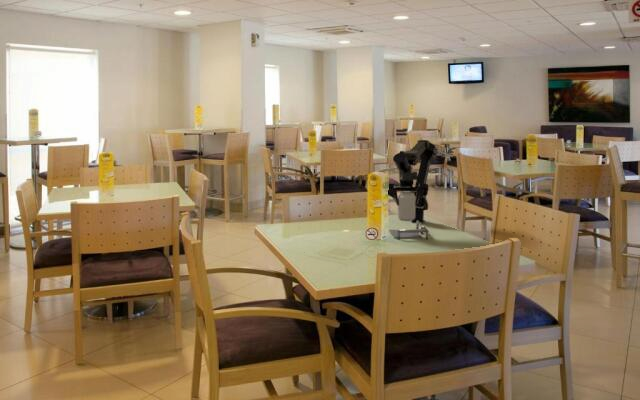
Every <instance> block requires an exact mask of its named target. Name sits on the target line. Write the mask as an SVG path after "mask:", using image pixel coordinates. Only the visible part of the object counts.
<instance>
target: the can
mask: <svg viewBox="0 0 640 400" xmlns="http://www.w3.org/2000/svg"><path fill="white" fill-rule="evenodd" d="M397 196H398V206H397V218H398V219H399V221H401V222H411V221H413V220H414V219H415V205H416V196H415V195H414V193H413V192H405V191H399V195H397Z"/></svg>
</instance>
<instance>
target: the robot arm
mask: <svg viewBox="0 0 640 400" xmlns="http://www.w3.org/2000/svg"><path fill="white" fill-rule="evenodd" d="M437 155H438V148H437V146H436V145H435V144H433V143H431V142H430V140H427V139H419V140H417V143H416V144H415V145H414V146H413V147H412V148H411V149H409V150H405V151H403V150H400V151H399V152H398V153H396V154H394V156H393V157H392V159H393V162H394V165H395V167H396V169H398V176H399V177H398V179H399V185H397V186H396V185H395V183H394V182H391V183H390V182H388V183H389V190H388V195H387V196H389V197H391V198H392V200H393V201H394V202H395V204H396V205H397V207H398V196H399V195H398V192H413V193H414V195H415V196H416V205H415V219H414V220H413V221H410V222H411V223H417V222H416V221H417V220H419V221H420V222H421V223H426V220H425V219H424V218H425V217H424V215H425V211H428V210H429V203H428V199H427V196H428V193H429V189H430V188H429V184H428V183H427V180H428V176H429V171H430V167H431V164H432V163H433V162H434V161H435V160H436V157H437ZM419 162H420V164H419ZM418 164H419V168H418V171H413V167H414V166H415V167H416V166H417V165H418ZM412 166H413V167H412ZM414 181H415V185H414Z"/></svg>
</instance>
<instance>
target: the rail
mask: <svg viewBox="0 0 640 400" xmlns="http://www.w3.org/2000/svg"><path fill="white" fill-rule="evenodd" d="M415 223H416V229H397V230H398V238H396V240H401V238H400V233H419V234H420V235H424V234H425V240H429V229H427V227H426V226H425V225H424V224H423V222H420V221H419V220H417V221H416V222H415ZM419 228H420V229H419Z"/></svg>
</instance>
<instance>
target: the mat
mask: <svg viewBox="0 0 640 400" xmlns="http://www.w3.org/2000/svg"><path fill="white" fill-rule="evenodd" d="M398 230H399V229H389V230H388V231H389V233H390V234H391V236H392V237H393V238H394V239H397V238H398ZM400 239H423V236H422V234H421V233H400Z"/></svg>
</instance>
